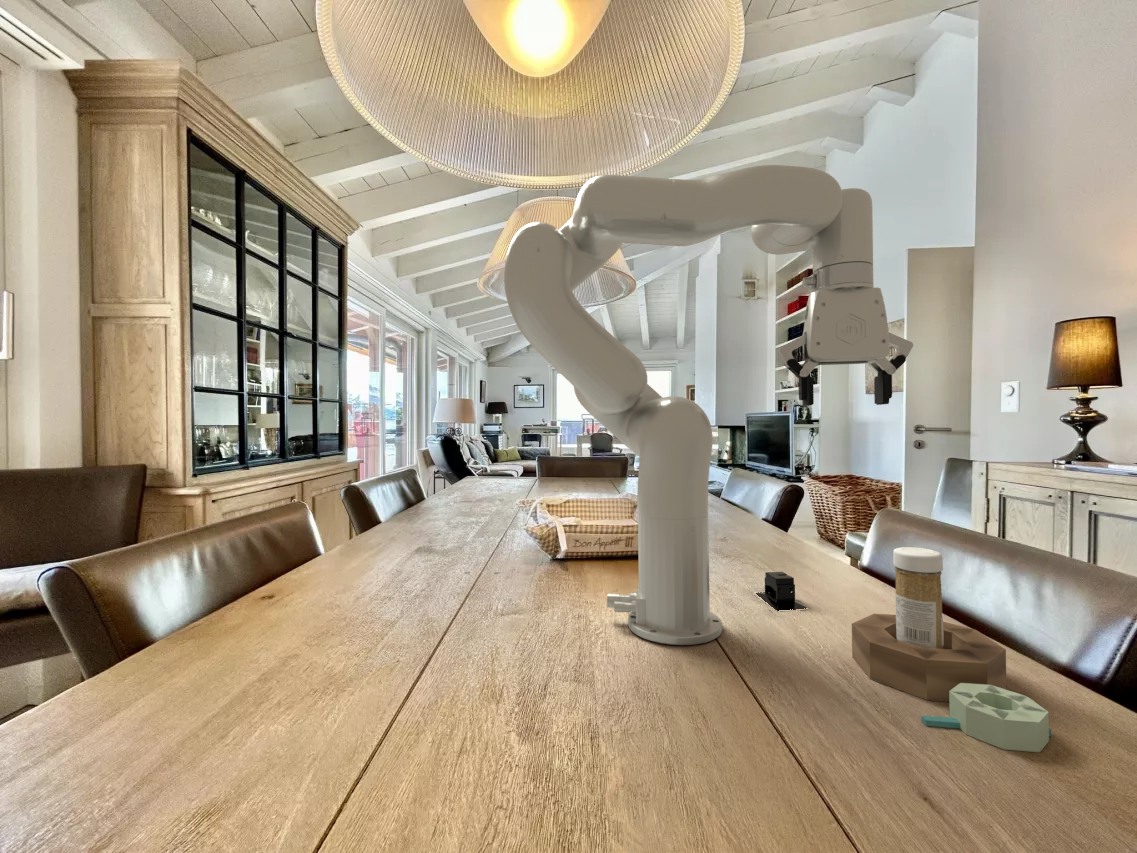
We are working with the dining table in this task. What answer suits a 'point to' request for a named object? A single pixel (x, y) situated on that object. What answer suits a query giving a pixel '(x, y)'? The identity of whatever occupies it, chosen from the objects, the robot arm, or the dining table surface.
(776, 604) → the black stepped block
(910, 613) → the sprinkles bottle
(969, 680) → the brown octagonal holder
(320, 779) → the dining table surface
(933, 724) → the teal bar
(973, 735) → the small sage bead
